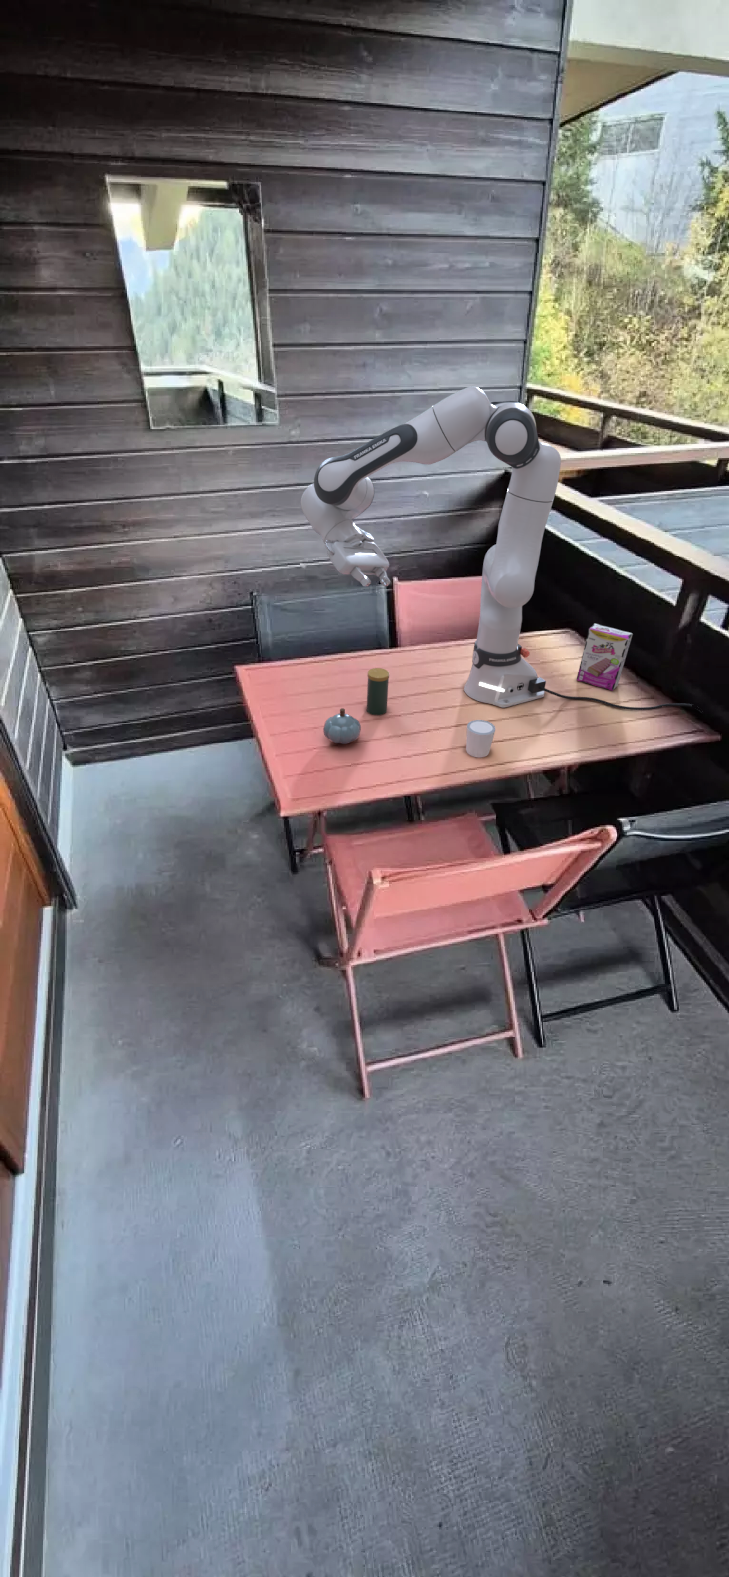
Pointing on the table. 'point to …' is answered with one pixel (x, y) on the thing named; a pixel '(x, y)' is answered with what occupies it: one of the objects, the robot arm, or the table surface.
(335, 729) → the pumpkin
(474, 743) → the white cup
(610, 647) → the candy bar box
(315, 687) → the table surface
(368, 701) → the tea tin
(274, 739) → the table surface
